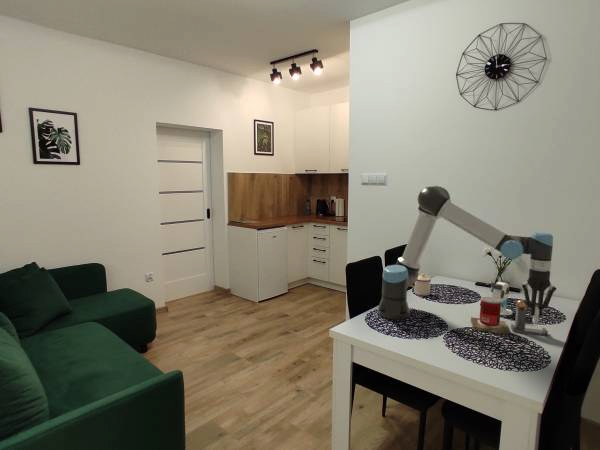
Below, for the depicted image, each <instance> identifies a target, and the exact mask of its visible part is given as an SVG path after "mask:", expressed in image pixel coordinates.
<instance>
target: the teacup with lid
mask: <svg viewBox="0 0 600 450" xmlns="http://www.w3.org/2000/svg"><path fill="white" fill-rule="evenodd" d="M431 279H432V278H430V276H427V275H425V273H421V274H420V275H418V278H417V280H416V282H415V283H414V284H413V285H411V286H410V287H412V288H413V289H414V294H415V293H416V294H415V295H418V296H430V294H431V282H432V281H431Z"/></svg>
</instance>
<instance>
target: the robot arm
mask: <svg viewBox="0 0 600 450" xmlns="http://www.w3.org/2000/svg"><path fill="white" fill-rule="evenodd" d="M450 195H451V194H450V193H449V191H448V190H447V189H446V188H445V187H442V186H438V185H434V186H427V187H426V186H425V188H423V189H422V190H421V191H419V194H418V195H417V203H418V208H417V211H418V213H419V214H418V216H417V218H416V221H415V224H414V226H413V229H412V231H411V234H410V236H409V238H408V241H407V244H406V246H405V249H404V251H403V253H402V256H400V257H398V258H397V260H396V262H395V264H391V265H387V266H385V267H384V268H383V271H382V282H381V283H382V285H381V300H380V301H379V302H380V303H379V305H378V307H377V314H378V315H379V316H380V317H381V318H385V319H389V320H394V321H395V320H396V321H400V320H401V321H402V320H407V319H409V317H411V316H410V313H411V312H410V307H409V304H408V300H407V296H408V288H409V287H412V286H411V285H413V286H414V285H415V282H416V280H417V278H418V276H419V271H420V269H421V265H420V261H421V258H422V256H423V253H424V251H425V249H426V246H427V244H428V242H429V239H430V236H431V235H432V232H433V230H434V227H435V225H436V222H437V221H438V220H439V219H441V218H442V219H444V220H445V221H447V222H449V223H451V224H452V225H454V226H455V227H458V229H460V230H462V231H464V232H466V233H468V235H471V236H472V237H474V238H476V239H477V240H480V242H482V243H484V244H486V245H488V246H489V247H491V248H492V249H494V250H496V251H497V252H499V253H501V255H502V256H503V258H506V259H508V260H516V259H518V258H520V256H522V254H523V255H530V257H529V269H528V270H529V271H528V278H527V281H526V282H524V283H520V286H521V287H522V290H523V293H524V299H525V300H524V301H525V302H526V303H527V307H530V315H531V316H532V323H533V324H534V325H538V324H539V317H541V316H542V313H543V310H544V309H547V308H548V306H549V304H550V301H551V300H552V297H553V294H554V293H555V292H556V291H557V287H556V286H555V285H552V282H551V279H550V278H551V271H550V270H551V269H552V268H551V267H552V257H553V256H552V255H553V246H554V236H553V235H552V234H551V233H549V232H548V233H546V232H533V233H532V234H531V236H518V235H511V234H510V235H508V234H507V233H505V232H503V231H502V230H500V229H498V228H496V227H494V226H493V225H491V224H489V223H487V222H486V221H484V220H482V219H481V218H479V217H477V216H475V215H474V214H471V213H470V212H469V211H466V210H465V209H463V208H461V207H460V206H458V205H456V204H454V203H453V202H452V200H451V196H450ZM529 287H530V289H531V299H530V294H529V290H528V288H529ZM547 289H548V290H547ZM546 290H547V293H546V295H545V291H546ZM544 295H545V298H544ZM537 296H538V299H537Z"/></svg>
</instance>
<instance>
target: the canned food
mask: <svg viewBox="0 0 600 450" xmlns="http://www.w3.org/2000/svg"><path fill="white" fill-rule="evenodd" d="M500 311H501V300H499V299H497V298H493V296H491V297H490V296H482V297H481V299H480V308H479V312H480V313H479V318H480V322H481V323H482V324H484V325H488V326H498V325H499V323H500V321H501V315H500Z"/></svg>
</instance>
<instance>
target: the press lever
mask: <svg viewBox="0 0 600 450" xmlns="http://www.w3.org/2000/svg"><path fill="white" fill-rule="evenodd" d="M515 303H516V304H515V305H516V307H515V318H514V319H515V320H514V325H515V327H516V329H518V330H525V328H526V319H527V317H526V316H527V309H526V308H527V307H528V305H527V303H526V300H524V299H518V300H517V301H516V302H515Z"/></svg>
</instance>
